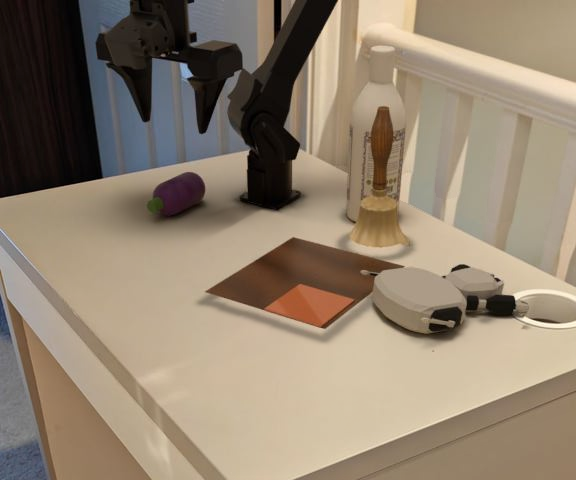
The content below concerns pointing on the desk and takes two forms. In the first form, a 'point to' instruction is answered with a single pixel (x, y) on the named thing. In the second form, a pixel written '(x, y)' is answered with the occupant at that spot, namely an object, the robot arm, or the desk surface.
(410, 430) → the desk surface
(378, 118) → the hand bell
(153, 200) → the eggplant
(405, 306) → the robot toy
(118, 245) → the desk surface
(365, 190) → the bath foam
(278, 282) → the board
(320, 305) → the corner square
